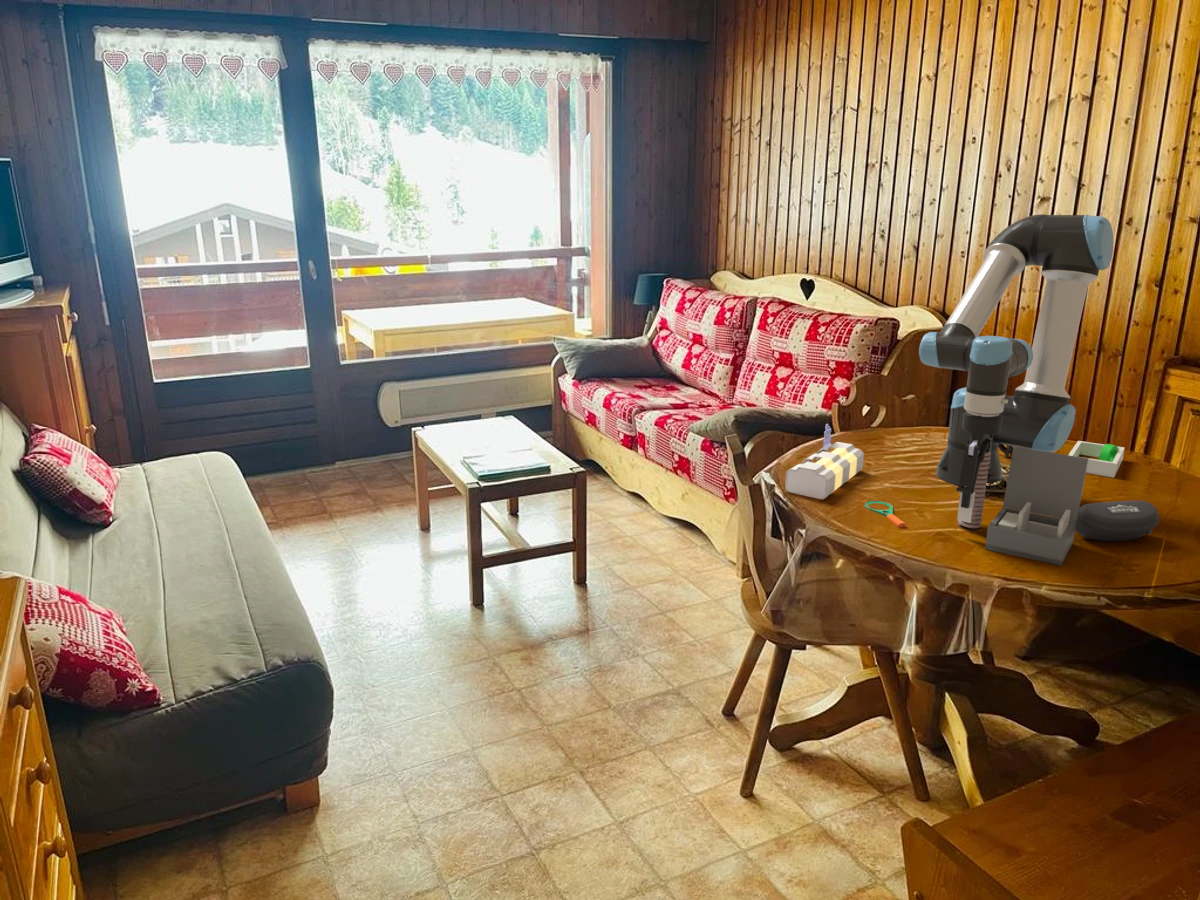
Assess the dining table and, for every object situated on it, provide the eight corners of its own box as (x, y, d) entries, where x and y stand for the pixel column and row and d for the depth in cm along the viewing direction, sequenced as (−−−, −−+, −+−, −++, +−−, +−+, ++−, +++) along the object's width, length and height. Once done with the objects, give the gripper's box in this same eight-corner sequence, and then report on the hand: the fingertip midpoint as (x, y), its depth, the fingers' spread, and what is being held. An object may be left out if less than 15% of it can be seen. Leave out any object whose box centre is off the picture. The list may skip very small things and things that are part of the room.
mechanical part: (1120, 480, 223) (1126, 451, 221) (1096, 474, 228) (1101, 445, 225) (1141, 471, 230) (1146, 443, 228) (1117, 466, 235) (1122, 437, 232)
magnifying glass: (860, 506, 201) (860, 499, 200) (884, 505, 202) (885, 498, 201) (888, 531, 187) (889, 523, 186) (915, 529, 187) (915, 522, 187)
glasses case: (1088, 549, 176) (1094, 514, 173) (1054, 530, 186) (1060, 496, 183) (1167, 544, 178) (1175, 508, 176) (1130, 525, 188) (1136, 491, 186)
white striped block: (823, 468, 227) (826, 420, 223) (861, 475, 222) (866, 426, 218) (784, 495, 208) (787, 443, 204) (826, 504, 202) (830, 450, 198)
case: (984, 548, 176) (996, 465, 171) (1003, 524, 189) (1014, 446, 183) (1061, 565, 168) (1075, 478, 163) (1074, 539, 181) (1088, 457, 175)
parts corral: (1064, 470, 223) (1067, 456, 222) (1075, 454, 236) (1078, 440, 235) (1113, 478, 217) (1116, 463, 216) (1122, 461, 230) (1124, 447, 229)
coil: (979, 525, 188) (990, 446, 183) (981, 533, 184) (992, 452, 179) (956, 522, 190) (966, 444, 185) (957, 530, 186) (967, 450, 180)
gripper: (989, 426, 168) (975, 534, 175) (1014, 404, 185) (1000, 503, 191) (949, 420, 172) (937, 525, 179) (977, 399, 189) (965, 496, 196)
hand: (970, 514), depth 185 cm, fingers open, 9 cm apart
